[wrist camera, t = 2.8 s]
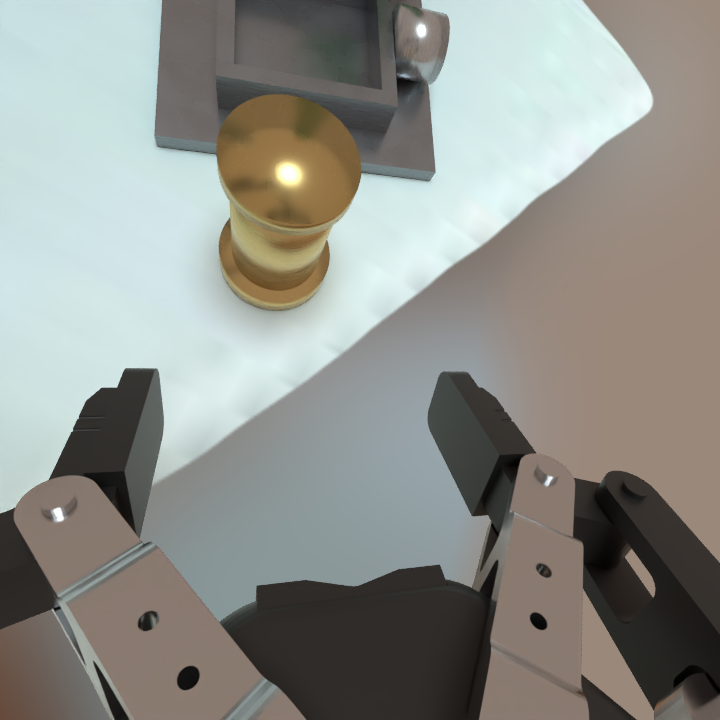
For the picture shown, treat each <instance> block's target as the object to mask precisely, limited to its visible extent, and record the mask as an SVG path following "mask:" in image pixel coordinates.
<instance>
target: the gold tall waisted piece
mask: <svg viewBox="0 0 720 720" xmlns="http://www.w3.org/2000/svg"><path fill="white" fill-rule="evenodd" d="M216 151H217V165H218V174H219V179H220V183H221V185H222V188H223V190H224V192H225V194H226V196H227V198H228V199H229V201H230V218H229V220H228V221H227V222H226V224H225V226H224V228H223V230H222V232H221V236H220V241H219V254H220V263H221V269H222V273H223V275H224V278H225V280H226V282H227V284H228V285H229V287H230V288H231V289H232V290H233V292H234V293H235V294H236V295H237V296H239V297H240V298H241V299H242V300H244V301H245V302H247V303H249V304H251V305H253V306H255V307H258V308H260V309H265V310H272V311H282V310H288V309H292V308H295V307H297V306H300V305H302V304H303V303H305V302H307V301H308V300H309V299H310V298H311V297H312V296H313V295H314V294H315V293H316V292H317V290H318V289H319V287H320V285H321V283H322V281H323V279H324V277H325V274H326V272H327V269H328V265H329V257H330V253H329V246H328V242H327V238H328V235H329V233H330V230H331V228H332V225H334V224H335V223H336V222H338V221H339V220H340V219H341V218H342V217H343V216H344V214H345V213H346V212H347V210H348V209H349V207H350V205H351V203H352V201H353V198H354V196H355V194H356V192H357V189H358V186H359V183H360V178H361V159H360V155H359V151H358V148H357V145H356V143H355V141H354V139H353V137H352V135H351V134H350V132H349V131H348V130H347V128H346V127H345V126H344V125H343V123H342V122H341V121H340V120H339V119H338V118H337V117H335V116H334V115H333V114H332V113H331V112H329V111H328V110H327V109H325V108H323V107H322V106H320V105H318V104H316V103H314V102H312V101H310V100H307V99H304V98H301V97H296V96H292V95H284V94H272V95H264V96H260V97H256V98H253V99H251V100H248V101H246V102H244V103H243V104H241V105H239V106H238V107H237V108H235V109H234V110H233V111H232V112H231V113H230V114H229V115H228V116H227V118H226V119H225V121H224V122H223V124H222V126H221V129H220V131H219V134H218V138H217V146H216Z"/></svg>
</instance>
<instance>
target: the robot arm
mask: <svg viewBox="0 0 720 720" xmlns="http://www.w3.org/2000/svg"><path fill="white" fill-rule="evenodd" d="M428 425H429V429H430V432H431V433H432V436H433V438H434V439H435V442H436V444H437V446H438V448H439V450H440V452H441V454H442V456H443V458H444V460H445V462H446V464H447V466H448V468H449V470H450V472H451V474H452V476H453V478H454V480H455V482H456V484H457V486H458V488H459V490H460V492H461V495H462V497H463V498H464V500H465V503H466V505H467V507H468V509H469V511H470V513H471V515H472V516H482V515H488V516H489V518H490V519H491V522H490V524H489V526H488V529H487V533H486V536H485V540H484V545H483V548H482V552H481V556H480V560H479V564H478V568H477V572H476V575H475V579H474V583H473V586H472V588H471V587H469V586H466V585H464V584H461V583H458V582H454V581H451V580H446V579H445V578H444V575H443V572H442V569H441V567H440V565H433V566H425V567H416V568H407V569H398V570H396V571H393V572H391V573H389V574H386V575H384V576H382V577H379V578H377V579H374V580H372V581H369V582H367V583H364V584H362V585H359V586H355V587H353V586H344V585H337V584H329V583H322V582H315V581H307V580H303V581H294V582H285V583H277V584H269V585H259V586H257V590H256V601H255V602H253V603H250V604H248V605H246V606H244V607H242V608H240V609H238V610H237V611H235V612H233V613H232V614H230V615H229V616H227V617H226V618H224V619H223V620H222V621H221V622H218V621H217V619H216V618H215V617H214V616H213V614H212V613H211V612H210V611H209V609H208V608H207V607H206V606H205V604H204V603H203V602H202V601H201V599H200V598H199V597H198V596H197V594H196V593H195V592H194V591H193V589H192V588H191V587H190V586H189V584H188V583H187V582H186V581H185V580H184V578H183V577H182V576H181V574H180V573H179V572H178V571H177V569H176V568H175V567H174V566H173V564H172V563H171V562H170V561H169V559H168V558H167V557H166V556H165V554H164V553H163V552H162V551H161V550H160V548H159V547H158V546H157V545H156V544H154V543H153V542H148V543H146V544H144V543H143V542H142V541H141V540H140V539H139V538H140V534H141V529H142V524H143V520H144V516H145V511H146V507H147V503H148V498H149V494H150V489H151V485H152V480H153V476H154V472H155V467H156V463H157V458H158V454H159V450H160V445H161V441H162V436H163V426H164V416H163V406H162V397H161V388H160V378H159V372H158V369H145V368H126V369H125V370H124V372H123V374H122V377H121V379H120V382H119V384H118V387H117V388H101V389H100V390H99V391H97V392H96V393H95V394H94V395H93V396H91V397H90V398H89V399H88V400H87V401H86V402H85V405H84V407H83V409H82V411H81V413H80V415H79V419H77V421H76V424H75V426H74V428H73V432H71V434H70V436H69V438H68V440H67V443H66V445H65V447H64V449H63V451H62V453H61V455H60V457H59V459H58V462H57V464H56V466H55V468H54V470H53V472H52V474H51V476H50V478H49V480H48V481H46V482H43V483H41V484H39V485H37V486H36V487H34V488H33V489H31V490H30V491H29V492H28V493H26V494H25V495H24V496H23V497H22V498H21V500H20V501H19V502H18V504H17V506H16V508H14V509H11V510H9V511H6V512H3V513H0V629H2V628H5V627H7V626H10V625H12V624H15V623H18V622H20V621H23V620H25V619H28V618H30V617H33V616H35V615H38V614H40V613H43V612H46V611H48V610H52V611H53V613H54V615H55V616H56V618H57V620H58V622H59V624H60V625H61V627H62V629H63V631H64V632H65V634H66V636H67V638H68V640H69V642H70V643H71V645H72V647H73V649H74V650H75V652H76V654H77V656H78V658H79V659H80V661H81V663H82V664H83V667H84V668H85V670H86V672H87V674H88V676H89V677H90V679H91V681H92V683H93V685H94V687H95V689H96V692H97V694H98V696H99V698H100V700H101V702H102V704H103V706H104V707H105V710H106V711H107V713H108V715H109V717H110V719H111V720H636V719H635V718H634V717H633V716H631V715H630V714H629V713H628V712H626V711H625V710H624V709H623V708H622V707H620V706H619V705H618V704H617V703H615V702H614V701H613V700H612V699H611V698H610V697H608V696H607V695H606V694H605V693H604V692H602V691H601V690H600V689H599V688H597V687H596V686H595V685H594V684H593V683H591V682H590V681H589V680H587V678H585V677H584V676H583V675H582V674H581V657H582V602H583V601H582V600H583V589H584V591H585V592H586V594H587V596H588V598H589V599H590V601H591V603H592V604H593V606H594V608H595V610H596V611H597V613H598V615H599V616H600V618H601V620H602V622H603V623H604V625H605V627H606V629H607V630H608V632H609V634H610V636H611V637H612V639H613V641H614V642H615V644H616V646H617V648H618V649H619V651H620V653H621V654H622V656H623V658H624V660H625V662H626V663H627V665H628V667H629V668H630V670H631V672H632V674H633V675H634V677H635V679H636V681H637V682H638V684H639V686H640V687H641V689H642V691H643V693H644V694H645V696H646V698H647V699H648V701H649V702H650V704H651V706H652V708H653V710H654V720H720V563H719V562H718V561H717V559H716V558H715V557H714V556H713V555H712V554H711V553H710V551H709V550H708V549H707V548H706V547H705V546H704V545H703V544H702V542H701V541H700V540H699V539H698V538H697V537H696V536H695V534H694V533H693V532H692V531H691V530H690V529H689V528H688V527H687V526H686V524H685V523H684V522H683V521H682V520H681V519H680V517H679V516H677V514H676V513H675V512H674V511H673V510H672V508H671V507H670V506H669V505H668V504H667V503H666V502H665V500H664V499H662V497H661V496H660V495H659V494H658V493H657V491H655V489H654V488H653V487H652V486H650V485H649V484H648V483H646V482H645V481H644V480H642V479H640V478H639V477H637V476H635V475H632V474H630V473H627V472H623V471H611V472H609V473H607V474H606V476H605V477H604V478H603V480H602V482H601V483H595V482H591V481H586V480H581V479H576V478H573V476H572V474H571V473H570V471H569V470H568V469H567V468H566V467H565V466H564V465H563V464H561V463H560V462H558V461H557V460H555V459H553V458H551V457H548V456H546V455H542V454H536V452H535V451H534V449H533V448H532V447H531V445H530V444H529V442H528V441H527V440H526V438H525V437H524V436H523V434H522V433H521V432H520V430H519V429H518V427H517V426H516V425H515V423H514V422H512V421H511V418H510V417H509V415H508V414H507V413H506V412H504V408H503V407H502V406H501V404H500V403H499V402H498V400H497V399H496V398H495V397H494V396H492V395H491V394H490V393H489V392H487V391H486V390H485V389H483V388H479V387H478V386H477V384H476V383H475V382H474V380H473V379H472V378H471V376H470V375H469V373H467V372H442V373H441V374H440V375H439V378H438V381H437V384H436V388H435V391H434V394H433V397H432V401H431V404H430V407H429V411H428ZM631 549H633V551H634V552H635V553H636V555H637V556H638V558H639V559H640V560H641V562H642V563H643V564H644V566H645V567H646V569H647V570H648V571H649V573H650V574H651V576H652V578H653V580H654V583H655V588H656V591H655V596H654V598H653V597H652V596H651V594H650V593H649V591H648V590H647V589H646V587H645V586H644V584H643V583H642V582H641V580H640V579H639V577H638V576H637V575H636V573H635V571H634V570H633V569H632V567H631V566H630V564H629V563H628V562H627V560H626V559H625V556H626V555H627V554H628V552H629V551H630V550H631Z"/></svg>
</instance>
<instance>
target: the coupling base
mask: <svg viewBox="0 0 720 720" xmlns="http://www.w3.org/2000/svg"><path fill="white" fill-rule="evenodd" d="M449 31H450V26H449V19H448V16H447V15H446V14H444V13H440V12H436V11H431V10H427V9H423V8H422V3H421V0H162V16H161V33H160V51H159V68H158V85H157V103H156V120H155V138H156V142H157V146H158V147H166V148H174V149H182V150H190V151H198V152H206V153H214V154H217V151H216V146H217V138H218V134H219V131H220V129H221V126H222V124H223V122H224V121H225V119H226V118H227V116H228V115H229V114H230V113H231V112H232V111H233V110H234V109H235V108H237V107H238V106H239V105H241V104H243V103H244V102H246V101H248V100H251V99H253V98H256V97H260V96H264V95H272V94H284V95H292V96H296V97H301V98H304V99H307V100H310V101H312V102H314V103H316V104H318V105H320V106H322V107H323V108H325V109H327V110H328V111H329V112H331V113H332V114H333V115H334V116H335V117H337V118H338V119H339V120H340V121H341V122H342V123H343V125H344V126H345V127H346V128H347V130H348V131H349V132H350V134H351V135H352V137H353V139H354V141H355V143H356V145H357V148H358V151H359V155H360V159H361V172H365V173H373V174H380V175H388V176H396V177H404V178H412V179H420V180H428V181H430V180H431V178H432V177H433V175H434V174H435V160H434V148H433V136H432V124H431V112H430V100H429V88H428V84H432V83H433V82H434V81H435V80H436V78H437V77H438V75H439V73H440V71H441V68H442V66H443V63H444V60H445V56H446V52H447V47H448V42H449Z"/></svg>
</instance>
